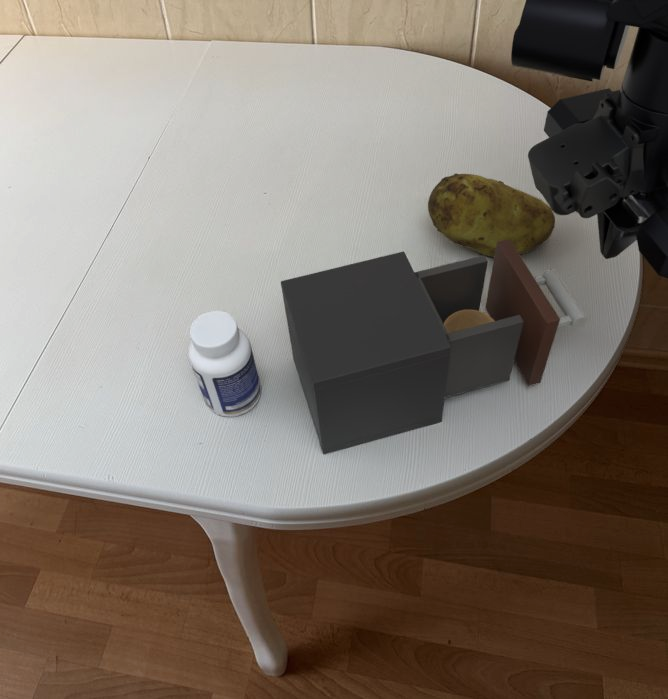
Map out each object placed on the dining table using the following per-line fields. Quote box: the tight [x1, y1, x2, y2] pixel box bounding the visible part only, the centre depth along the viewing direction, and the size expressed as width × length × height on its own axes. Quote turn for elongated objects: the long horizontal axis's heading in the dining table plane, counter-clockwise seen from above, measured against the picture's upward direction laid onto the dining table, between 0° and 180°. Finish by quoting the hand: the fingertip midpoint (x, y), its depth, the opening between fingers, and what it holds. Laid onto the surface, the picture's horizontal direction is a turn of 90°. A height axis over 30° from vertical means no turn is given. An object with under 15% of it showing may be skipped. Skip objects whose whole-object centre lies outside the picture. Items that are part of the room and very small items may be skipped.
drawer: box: [414, 239, 588, 398], centre depth 62 cm, size 14×10×9 cm
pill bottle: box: [188, 310, 262, 418], centre depth 62 cm, size 5×5×10 cm
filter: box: [444, 310, 494, 333], centre depth 64 cm, size 5×5×2 cm
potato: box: [427, 173, 556, 258], centre depth 73 cm, size 8×13×8 cm, turn 70°
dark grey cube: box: [280, 251, 451, 455], centre depth 61 cm, size 11×11×11 cm
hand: (608, 255), depth 60 cm, fingers closed
